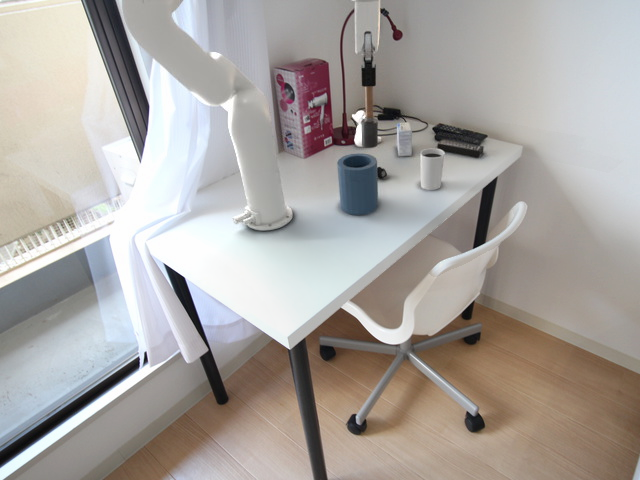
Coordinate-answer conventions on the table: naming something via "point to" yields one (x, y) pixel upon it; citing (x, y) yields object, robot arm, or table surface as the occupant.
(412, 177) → the table surface
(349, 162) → the cup
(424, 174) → the white tumbler
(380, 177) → the electric trimmer
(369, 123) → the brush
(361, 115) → the sitting furry creature
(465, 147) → the multiport hub
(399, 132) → the medicine box
